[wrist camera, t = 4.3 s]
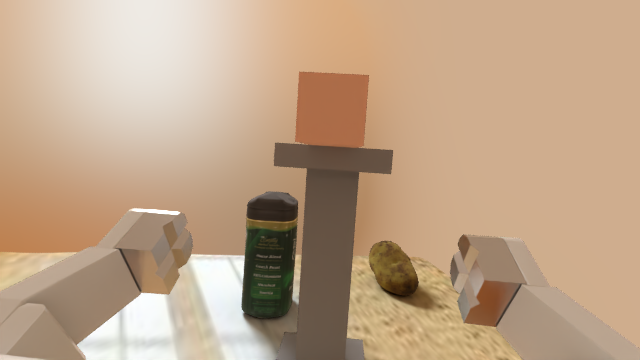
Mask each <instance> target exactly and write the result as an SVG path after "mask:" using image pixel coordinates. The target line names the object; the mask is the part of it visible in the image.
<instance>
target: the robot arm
mask: <svg viewBox="0 0 640 360" xmlns="http://www.w3.org/2000/svg"><path fill="white" fill-rule="evenodd" d="M186 224H187V219H186V217H185V214H183V213H179V212H171V211H161V210H151V209H150V210H147V209H138V208H133V209H131V210H128V212H127V213H126V214H125V215H124V216H123V217H122V218H121V219H120V220H119V222H118V223H117V224H116V225H115V226H114V227H113V228H112V229H111V230H110V231H109V233H108V234H107V235H106V236H105V237H104V238H103V239H102V240H101V241H100V242H99V243H98V245H97V246H96V247H88V248H86V249H84V250H82V251H80V252H78V253H76V254H74V255H72V256H70V257H68V258H66V259H64V260H62V261H60V262H58V263H56V264H54V265H52V266H50V267H48V268H46V269H44V270H42V271H40V272H38V273H36V274H34V275H32V276H30V277H28V278H26V279H24V280H22V281H20V282H18V283H16V284H14V285H12V286H10V287H8V288H6V289H4V290H2V291H0V360H86V357H85V355H84V354H83V353H82V351H81V350H80V349H79V348H78V346H77V344H78V343H80V342H81V341H82V340H83V339H85V338H86V337H87V336H88V335H90V334H91V333H92V332H93V331H95V330H96V329H97V328H98V327H100V326H101V325H102V324H104V323H105V322H106V321H107V320H109V319H110V318H111V317H112V316H114V315H115V314H116V313H117V312H119V311H120V310H121V309H122V308H124V307H125V306H126V305H128V304H129V303H130V302H131V301H133V300H134V299H135V298H136V297H138V296H139V295H140V294H141V293H156V294H170V292H171V290H172V288H173V287H174V285H175V283H176V281H177V279H178V278H179V276H180V275H179V271H178V269H179V268H180V267H182V266H183V265H185V264H186V263H187V261H188V259H189V258H190V256H191V251H192V247H193V244H192V243H193V241H192V236H191V233H190V232H189V231H188V230H187V229H185V228H184V227H185V226H186ZM458 247H459V250H460V251H459V252H457V253H456V254H455V255H454V256H453V258H452V262H451V270H450V274H451V281H452V284H453V288H454V289H455V290H457V291H458V292H459V293H460V296H459V298H458V301H457V302H458V305H459V309H460V312H461V315H462V319H463V322H464V323H468V324H476V325H484V326H492V327H496V329H497V330H498V332H499V333H500V334H501V335H502V336H503V337H504V338H505V340H506V341H507V342H508V343H509V344H510V345H511V346H512V348H513V349H514V350H515V351H516V352H517V353H518V354H519V356H520V357H521V358H522V359H523V360H640V348H638V347H637V346H636V345H634V344H633V343H631V342H630V341H629V340H627V339H626V338H625V337H623V336H622V335H621V334H619V333H618V332H616V331H615V330H614V329H612V328H611V327H610V326H608V325H607V324H605V323H604V322H603V321H601V320H600V319H599V318H597V317H596V316H595V315H593V314H592V313H590V312H589V311H588V310H587V309H585V308H584V307H582V306H581V305H580V304H578V303H577V302H575V301H574V300H573V299H571V298H570V297H569V296H567V295H566V294H565V293H563V292H562V291H561V290H559V289H558V288H557V287H550V286H549V284H548V282H547V280H546V279H545V277H544V275H543V273H542V272H541V270H540V268H539V267H538V265H537V263H536V262H535V260H534V258H533V257H532V255H531V253H530V251H529V250H528V248H527V246H526V245H525V243H524V241H522V240H521V239H520V238H509V237H492V236H476V235H462V236H461V238H460V239H459V242H458ZM140 292H141V293H140Z"/></svg>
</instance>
